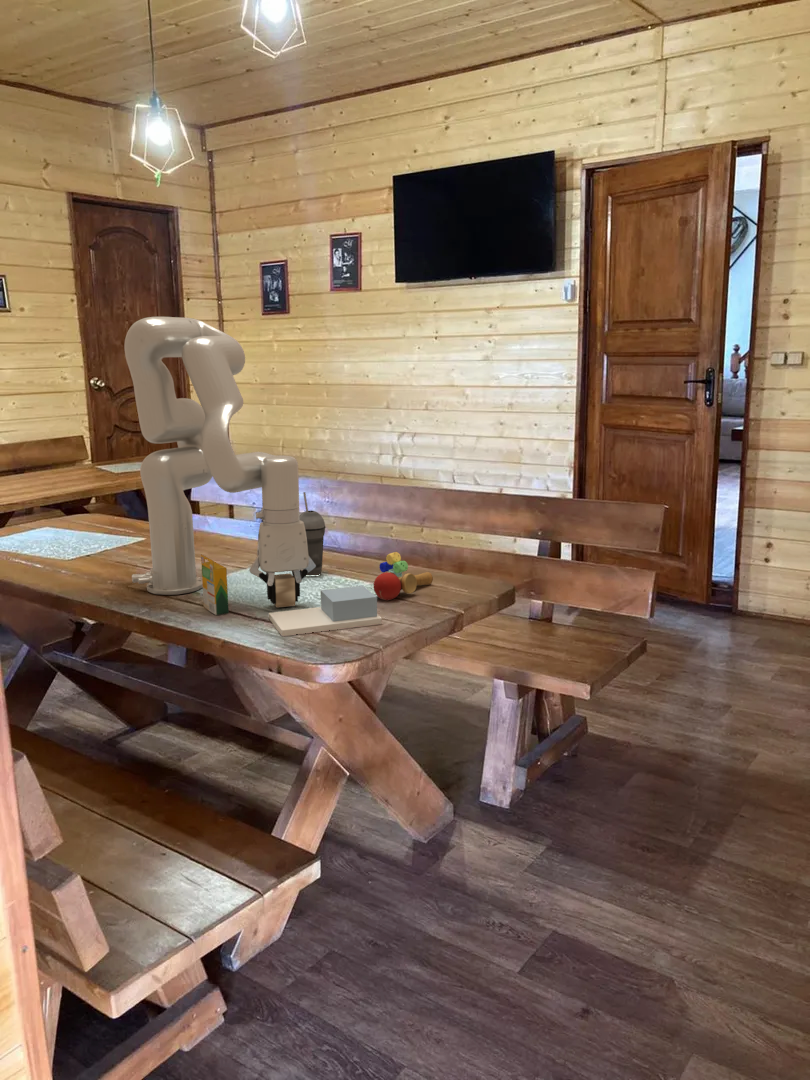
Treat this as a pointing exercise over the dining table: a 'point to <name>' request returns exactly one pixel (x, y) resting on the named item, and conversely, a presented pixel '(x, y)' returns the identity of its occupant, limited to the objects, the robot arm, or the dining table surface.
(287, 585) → the birch block
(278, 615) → the baseplate
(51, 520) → the dining table surface
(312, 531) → the beverage cup
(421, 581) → the kendama
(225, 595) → the crayon box
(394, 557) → the dice
